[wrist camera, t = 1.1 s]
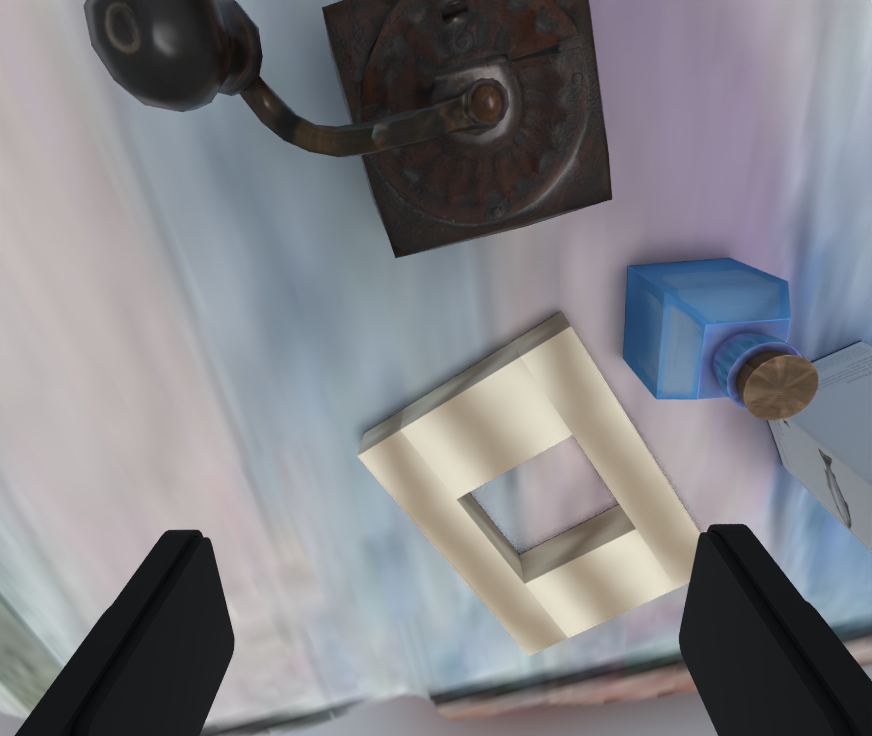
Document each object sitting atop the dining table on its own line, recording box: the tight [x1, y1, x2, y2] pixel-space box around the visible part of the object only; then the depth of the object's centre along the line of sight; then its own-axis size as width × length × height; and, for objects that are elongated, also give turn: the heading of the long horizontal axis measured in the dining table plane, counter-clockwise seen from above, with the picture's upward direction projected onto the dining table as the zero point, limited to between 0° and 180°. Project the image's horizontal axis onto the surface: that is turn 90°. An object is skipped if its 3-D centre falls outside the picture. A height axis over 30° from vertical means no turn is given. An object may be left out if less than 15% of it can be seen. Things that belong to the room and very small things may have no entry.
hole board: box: [357, 312, 700, 656], centre depth 39 cm, size 16×22×3 cm
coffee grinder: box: [84, 0, 612, 258], centre depth 22 cm, size 16×11×18 cm
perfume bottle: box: [623, 258, 819, 421], centre depth 29 cm, size 6×6×12 cm
